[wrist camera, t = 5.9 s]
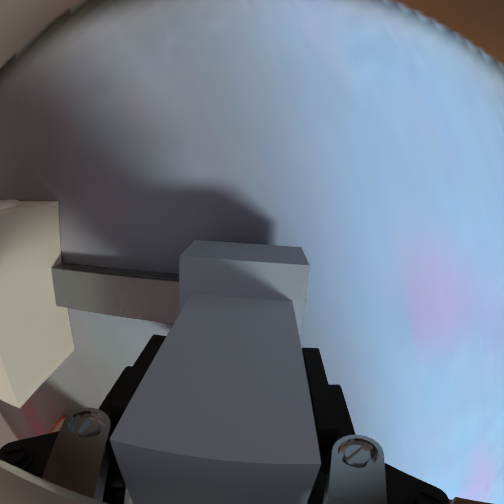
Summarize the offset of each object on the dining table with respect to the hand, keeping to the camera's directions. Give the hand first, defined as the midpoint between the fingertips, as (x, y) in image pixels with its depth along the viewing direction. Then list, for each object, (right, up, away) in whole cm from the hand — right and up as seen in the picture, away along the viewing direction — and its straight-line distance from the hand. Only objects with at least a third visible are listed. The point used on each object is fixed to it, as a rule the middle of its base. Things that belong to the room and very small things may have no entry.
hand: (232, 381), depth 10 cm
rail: (-4, +2, +7) cm, 9 cm away
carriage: (0, +1, +6) cm, 6 cm away
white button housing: (-14, +3, +7) cm, 16 cm away
